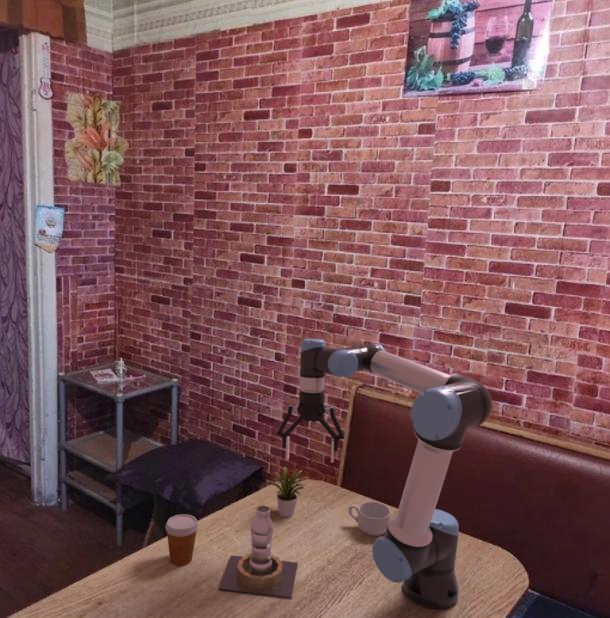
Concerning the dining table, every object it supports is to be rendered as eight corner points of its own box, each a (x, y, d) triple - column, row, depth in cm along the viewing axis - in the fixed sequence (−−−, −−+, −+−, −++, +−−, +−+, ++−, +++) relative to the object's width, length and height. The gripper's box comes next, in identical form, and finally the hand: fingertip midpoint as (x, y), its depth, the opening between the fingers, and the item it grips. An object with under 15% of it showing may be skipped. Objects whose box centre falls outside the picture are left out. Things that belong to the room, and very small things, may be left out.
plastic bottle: (268, 583, 164) (272, 516, 161) (245, 579, 166) (248, 512, 163) (274, 570, 171) (278, 505, 168) (251, 566, 172) (254, 501, 169)
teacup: (394, 530, 198) (396, 507, 197) (380, 544, 189) (382, 520, 188) (357, 516, 205) (358, 495, 204) (341, 529, 196) (343, 507, 195)
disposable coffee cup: (185, 547, 181) (186, 510, 179) (204, 561, 174) (205, 523, 172) (158, 558, 174) (158, 520, 172) (175, 573, 168) (177, 534, 166)
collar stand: (297, 564, 175) (298, 553, 175) (291, 598, 160) (292, 586, 159) (231, 557, 177) (231, 546, 176) (218, 590, 161) (218, 578, 161)
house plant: (294, 530, 194) (297, 483, 192) (258, 518, 200) (260, 473, 197) (313, 511, 207) (315, 467, 204) (277, 501, 213) (280, 458, 210)
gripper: (353, 390, 181) (351, 458, 182) (272, 386, 183) (270, 454, 184) (353, 394, 174) (351, 466, 175) (269, 390, 176) (267, 461, 177)
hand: (309, 460), depth 179 cm, fingers open, 13 cm apart
